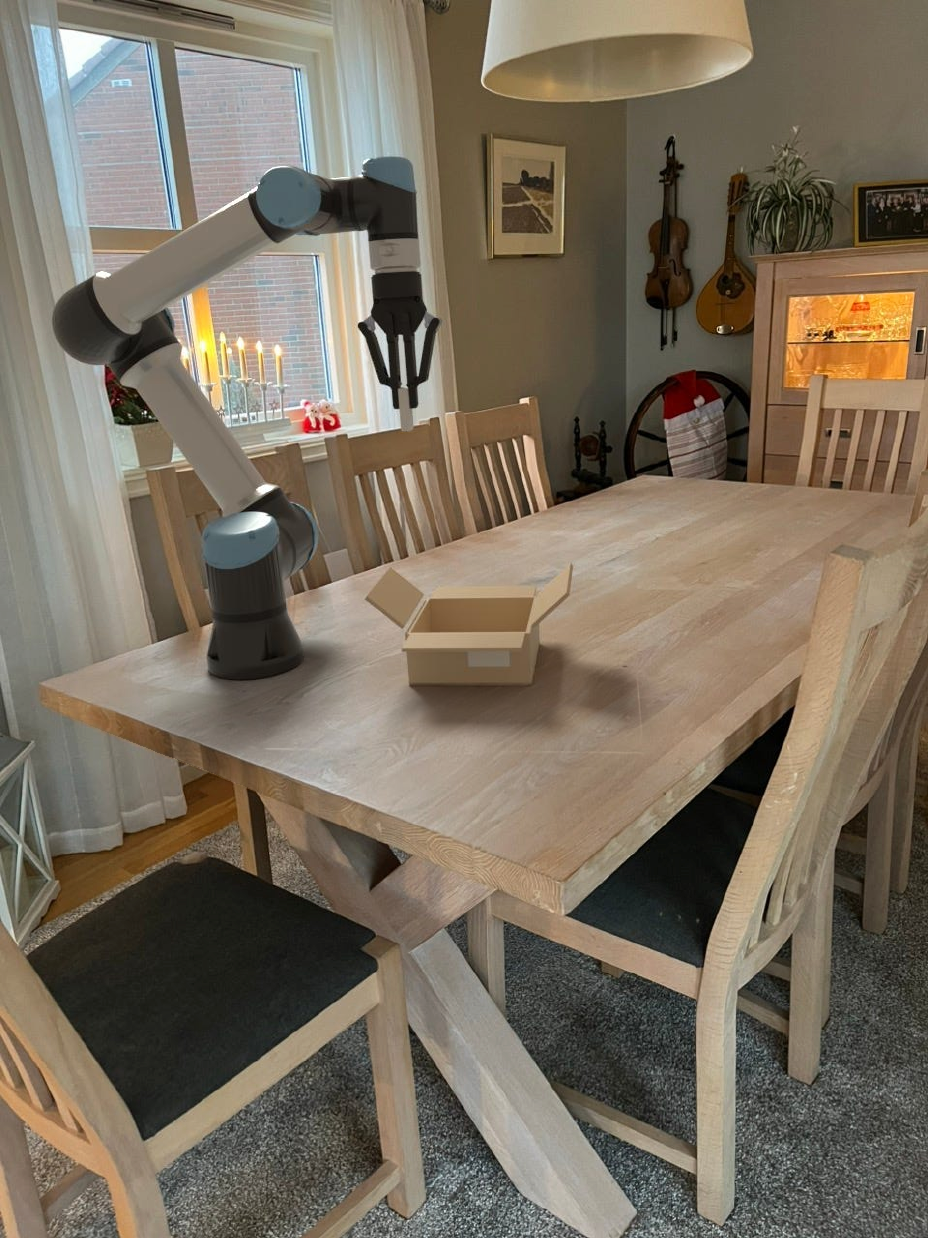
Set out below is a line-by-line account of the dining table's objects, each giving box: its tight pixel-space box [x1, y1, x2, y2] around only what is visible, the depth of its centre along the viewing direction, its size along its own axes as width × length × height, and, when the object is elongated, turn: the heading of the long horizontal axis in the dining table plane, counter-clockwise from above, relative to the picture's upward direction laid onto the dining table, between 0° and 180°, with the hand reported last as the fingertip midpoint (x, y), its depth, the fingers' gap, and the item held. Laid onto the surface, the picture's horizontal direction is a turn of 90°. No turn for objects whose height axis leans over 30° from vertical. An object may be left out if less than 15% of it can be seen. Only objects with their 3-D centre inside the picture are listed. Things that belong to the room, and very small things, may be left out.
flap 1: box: [364, 566, 425, 630], centre depth 148 cm, size 1×16×7 cm
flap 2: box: [531, 562, 574, 628], centre depth 144 cm, size 1×16×7 cm
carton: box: [401, 585, 541, 687], centre depth 148 cm, size 18×30×8 cm, turn 172°
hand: (407, 429), depth 153 cm, fingers closed
